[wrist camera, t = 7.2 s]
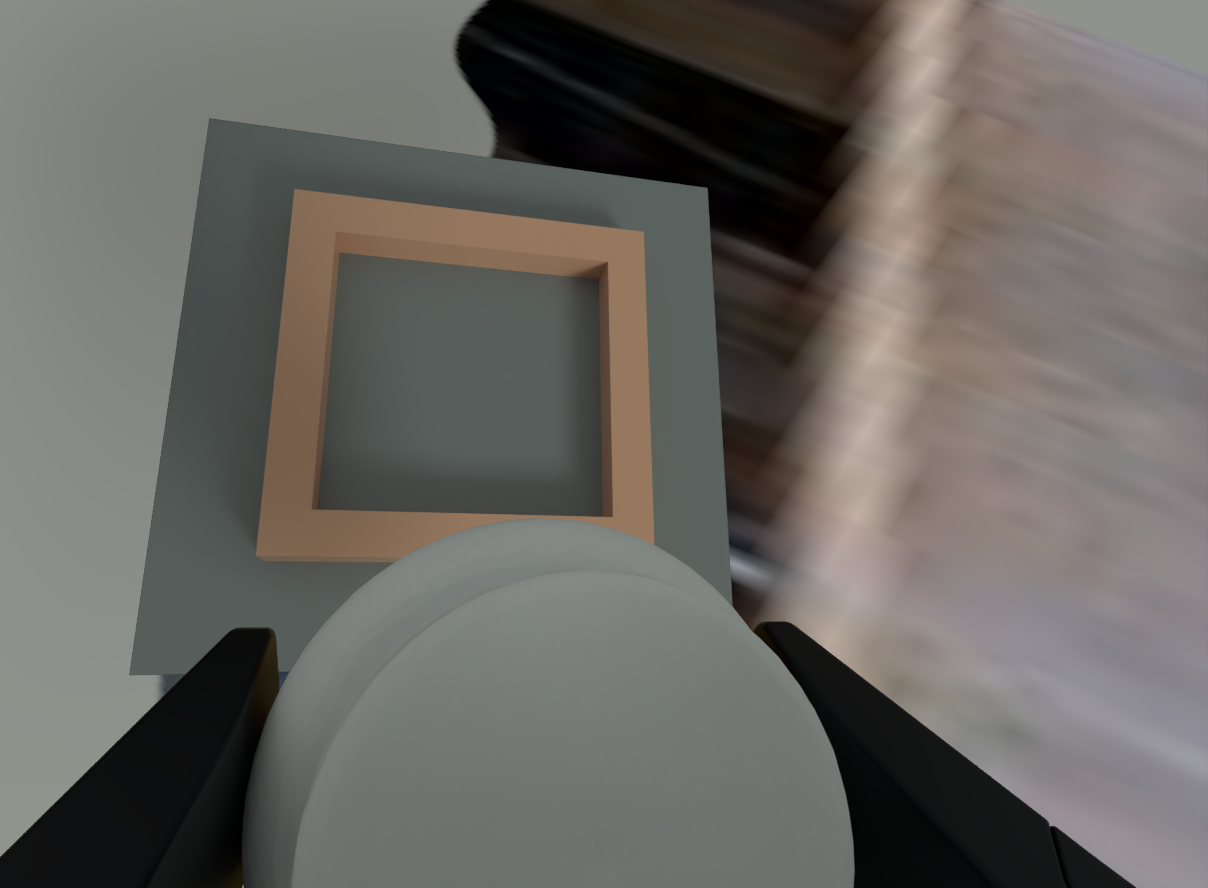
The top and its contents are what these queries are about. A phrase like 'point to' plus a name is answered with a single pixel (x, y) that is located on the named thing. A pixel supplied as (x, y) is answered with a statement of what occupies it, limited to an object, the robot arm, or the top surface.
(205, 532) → the dock
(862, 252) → the top surface
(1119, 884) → the robot arm
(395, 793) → the supplement bottle
